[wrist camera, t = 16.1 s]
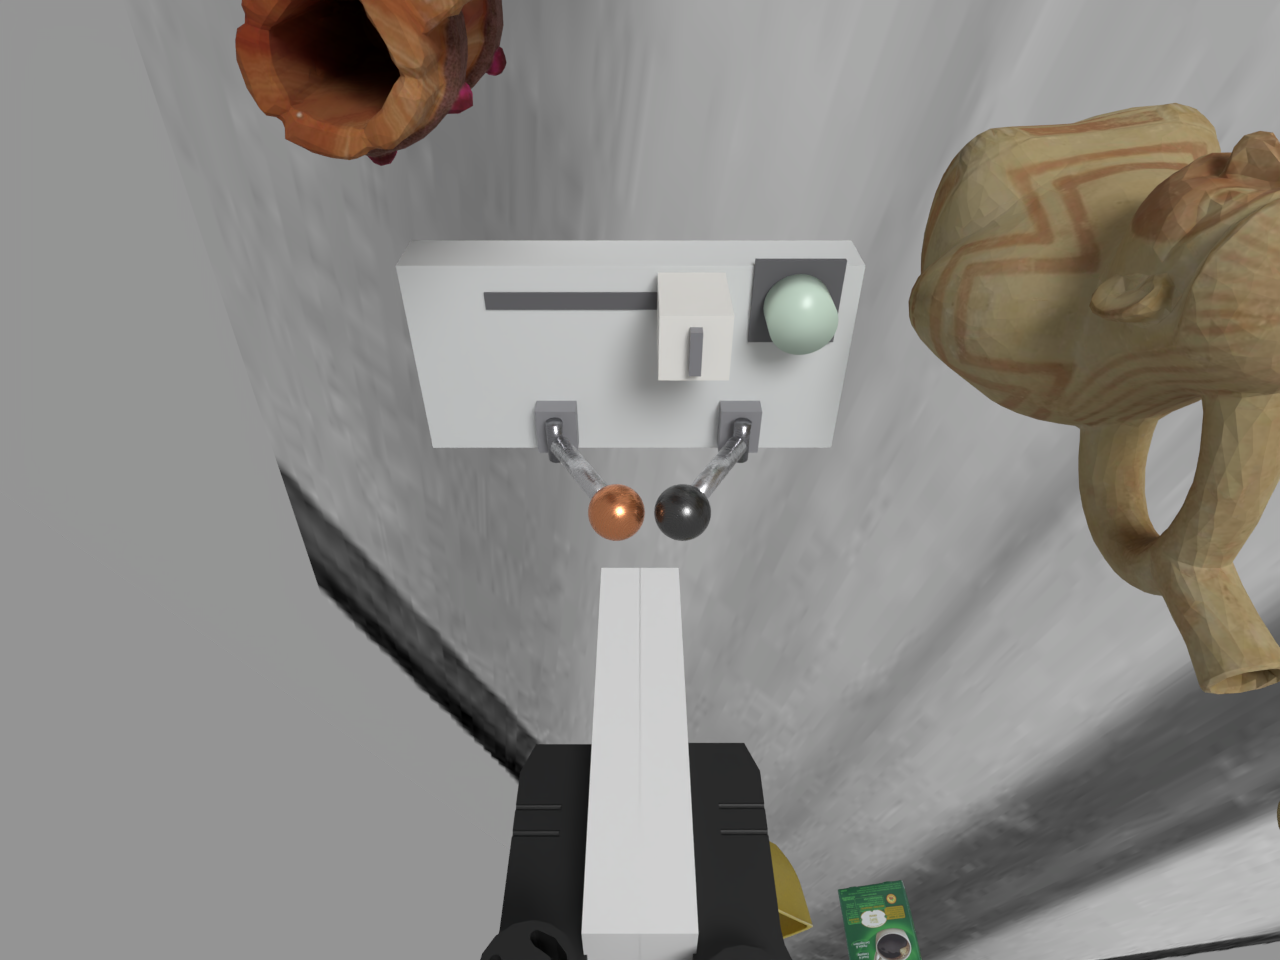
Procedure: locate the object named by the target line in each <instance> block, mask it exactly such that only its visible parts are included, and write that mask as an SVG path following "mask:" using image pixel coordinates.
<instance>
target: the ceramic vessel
mask: <svg viewBox="0 0 1280 960" xmlns="http://www.w3.org/2000/svg"><path fill="white" fill-rule="evenodd" d="M908 303H909V318H910V322H911V325H912V327H913V328H914V330H915V331H916V333H917V335H918V336H919V338H920V339H921V340H922V342H923V343H924V344H925V345H926V346H927V347H928V348H929V349H930V350H931V351H932V352H933V353H934V355H936V356H937V357H938V358H939V359H940V360H941V361H942V362H943V363H945V364H946V365H947V366H948V367H949V368H950V369H952V370H953V371H954V372H956V373H957V374H958V375H959V376H961V377H962V378H963V379H964V380H966V381H967V382H968V383H970V384H971V385H972V386H973V387H975V388H976V389H977V390H979V391H980V392H981V393H982V394H984V395H985V396H986V397H988V398H989V399H990V400H992V401H993V402H995V403H997V404H999V405H1000V406H1002V407H1005V408H1007V409H1009V410H1011V411H1014V412H1016V413H1018V414H1022V415H1025V416H1028V417H1031V418H1034V419H1037V420H1042V421H1047V422H1053V423H1058V424H1065V425H1071V426H1076V427H1078V428H1079V429H1080V442H1079V455H1078V474H1079V490H1080V496H1081V502H1082V507H1083V511H1084V514H1085V518H1086V521H1087V525H1088V528H1089V531H1090V533H1091V536H1092V538H1093V541H1094V543H1095V544H1096V546H1097V547H1098V549H1099V551H1100V552H1101V554H1102V556H1103V557H1104V559H1105V560H1106V561H1107V563H1108V564H1109V565H1110V567H1111V568H1112V569H1113V571H1114V572H1115V573H1116V574H1117V575H1118V576H1119V577H1121V578H1122V579H1123V580H1124V581H1126V582H1127V583H1129V584H1130V585H1132V586H1133V587H1135V588H1137V589H1139V590H1141V591H1143V592H1146V593H1149V594H1153V595H1159V596H1162V597H1163V598H1164V601H1165V603H1166V605H1167V607H1168V609H1169V611H1170V614H1171V616H1172V618H1173V620H1174V622H1175V624H1176V626H1177V628H1178V629H1179V631H1180V633H1181V635H1182V637H1183V640H1184V642H1185V644H1186V646H1187V649H1188V652H1189V655H1190V658H1191V661H1192V664H1193V667H1194V670H1195V673H1196V676H1197V680H1198V683H1199V686H1200V688H1201V689H1202V691H1204V692H1206V693H1213V694H1230V693H1241V692H1246V691H1251V690H1256V689H1261V688H1264V687H1266V686H1269V685H1272V684H1275V683H1278V682H1279V681H1280V647H1279V645H1278V644H1277V643H1276V641H1275V640H1274V638H1273V636H1272V635H1271V633H1270V632H1269V630H1268V628H1267V627H1266V625H1265V624H1264V622H1263V621H1262V619H1261V617H1260V616H1259V614H1258V612H1257V611H1256V609H1255V607H1254V605H1253V603H1252V601H1251V599H1250V598H1249V596H1248V594H1247V592H1246V590H1245V588H1244V586H1243V585H1242V582H1241V580H1240V577H1239V575H1238V573H1237V570H1236V568H1235V566H1234V563H1233V561H1234V559H1235V558H1236V556H1237V555H1238V553H1239V552H1240V550H1241V548H1242V547H1243V545H1244V544H1245V542H1246V541H1247V539H1248V538H1249V536H1250V535H1251V533H1252V532H1253V530H1254V529H1255V527H1256V526H1257V524H1258V522H1259V520H1260V518H1261V516H1262V514H1263V512H1264V510H1265V508H1266V506H1267V504H1268V501H1269V499H1270V497H1271V495H1272V493H1273V491H1274V490H1275V488H1276V486H1277V484H1278V482H1279V480H1280V142H1279V141H1278V139H1277V138H1276V136H1275V134H1274V133H1273V132H1266V131H1258V132H1254V133H1250V134H1247V135H1244V136H1243V137H1242V138H1241V139H1240V141H1239V142H1238V143H1237V144H1236V145H1235V146H1234V148H1233V151H1232V152H1225V153H1221V149H1220V145H1219V142H1218V139H1217V135H1216V130H1215V127H1214V126H1213V125H1212V124H1211V123H1210V121H1209V120H1208V119H1207V118H1206V117H1205V116H1204V115H1203V114H1201V113H1200V112H1199V111H1198V110H1197V109H1195V108H1192V107H1190V106H1186V105H1182V104H1178V103H1170V104H1164V105H1154V106H1143V107H1132V108H1128V109H1123V110H1119V111H1114V112H1110V113H1105V114H1101V115H1097V116H1093V117H1090V118H1087V119H1084V120H1081V121H1078V122H1075V123H1071V124H1056V125H1035V126H1012V127H1000V128H991V129H988V130H986V131H984V132H982V133H980V134H978V135H977V136H976V137H974V138H973V139H972V140H971V141H969V142H968V143H967V144H966V145H965V146H964V147H963V148H962V149H961V150H960V151H959V152H958V154H957V155H956V156H955V157H954V158H953V160H952V161H951V163H950V165H949V166H948V168H947V169H946V171H945V173H944V174H943V176H942V178H941V181H940V183H939V185H938V188H937V190H936V193H935V196H934V199H933V202H932V206H931V209H930V213H929V217H928V220H927V224H926V228H925V232H924V239H923V246H922V252H921V275H920V276H919V277H918V278H917V280H916V282H915V284H914V286H913V288H912V290H911V294H910V298H909V301H908ZM1200 400H1202V407H1203V420H1202V431H1201V442H1200V451H1199V457H1198V462H1197V467H1196V471H1195V475H1194V479H1193V483H1192V485H1191V487H1190V489H1189V491H1188V494H1187V496H1186V499H1185V501H1184V503H1183V505H1182V507H1181V509H1180V511H1179V512H1178V514H1177V515H1176V517H1175V518H1174V520H1173V521H1172V523H1171V524H1170V526H1169V527H1168V528H1167V529H1166V530H1165V531H1164V532H1163V533H1162V534H1161V535H1159V534H1158V533H1157V532H1156V530H1155V529H1154V527H1153V525H1152V523H1151V521H1150V518H1149V515H1148V509H1147V503H1146V497H1145V468H1146V462H1147V456H1148V452H1149V448H1150V444H1151V440H1152V436H1153V433H1154V430H1155V428H1156V425H1157V423H1158V420H1160V419H1161V418H1163V417H1165V416H1166V415H1168V414H1170V413H1171V412H1173V411H1176V410H1178V409H1181V408H1183V407H1185V406H1188V405H1190V404H1193V403H1195V402H1198V401H1200Z"/></svg>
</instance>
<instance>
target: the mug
mask: <svg viewBox="0 0 1280 960" xmlns="http://www.w3.org/2000/svg"><path fill="white" fill-rule="evenodd" d="M241 6H242V8H243V11H244V13H245V23H244V24H243V25H241V26H240V27H238V28H237V32H236V38H235V48H236V60H237V63H238V66H239V69H240V71H241V74H242V77H243V79H244V82H245V85H246V88H247V89H248V91H249V93H250V94H251V96H252V97H253V99H254V101H255V102H256V104H257V105H258V107H259V109H260V110H261V111H262V112H263V113H264V114H265V115H266V116H272V117H277V118H278V119H279V120H281V121H282V122H283V125H284V127H285V139H286V140H288V141H290V142H292V143H294V144H296V145H298V146H300V147H303V148H305V149H306V150H308V151H310V152H312V153H315V154H319V155H322V156H326V157H330V158H336V159H344V160H352V159H357V158H360V157H362V156H364V155H366V156H368V157H369V158H370V159H371V161H372V162H373V163H375V164H377V165H380V166H383V165H387V164H391V163H392V161H393V160H394V158H395V156H396V154H397V150H401V149H405V148H407V147H409V146H411V145H412V144H414V143H416V142H418V141H420V140H422V139H423V138H425V137H426V136H427V135H428V134H429V133H430V132H431V131H432V130H434V129H435V128H436V127H437V125H438V124H439V123H440V122H441V121H442V120H443V118H444V117H445V116H446V115H447V114H459V113H461V112H463V111H465V110H467V109H468V108H470V107H472V106H473V93H472V91H471V89H472V88H473V87H474V86H475V85H476V84H477V82H478V81H479V80H480V79H481V78H482V76H483V75H484V74H485V73H487V74H488V75H493V76H497V75H499V74H501V73H502V72H503V70H504V69H505V66H506V63H507V62H506V57H505V54H504V51H503V48H501V47H500V41H501V36H502V31H503V26H504V24H503V9H502V0H242V3H241Z"/></svg>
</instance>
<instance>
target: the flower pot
mask: <svg viewBox="0 0 1280 960" xmlns="http://www.w3.org/2000/svg"><path fill="white" fill-rule="evenodd" d="M769 842H770V841H769ZM770 850H771V857H772V865H773V873H774V880H775V888H776V896H777V903H778V911H779V918H780V926H781V931H782V935H783V939H784V938H787V937H790V936H793V935H795V934H798V933H800V932H803V931H806V930H808V929H810V928H812V927H813V924H812V921H811V918H810V914H809V911H808V907H807V904H806V900H805V897H804V894H803V890H802V887H801V884H800V881H799V879H798V876H797V874H796V872H795V870H794V868H793V866H792V865H791V863H790V862H789V860H788V859H787V857H786V856H785V855H784V853H783V852H782V851H781V850H780V849H779V847H778V846H777V845H776V844H774V843H772V842H770Z"/></svg>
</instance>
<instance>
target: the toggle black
mask: <svg viewBox="0 0 1280 960" xmlns="http://www.w3.org/2000/svg"><path fill="white" fill-rule="evenodd" d="M751 425H752V422H751V420H750V419H748V418H743V417H741V418H737V419H736V420H735V422H734V432H733V437H731V438H730V439H729V440H728V441H727V442H726V444H725V445H724V446H723V447H722V448H721V449H720V451H719V452H718V453H717V454H716V455H715V457H714V458H713V459H712V460H711V461H710V463H709V464H708V465H707V466H706V467H705V469H704V470H703V471H702V472H701V473H700V475H699V476H698V477H697V478H696V479H695V481H694V482H693V483H692V484H691V485H687V484H678V485H674V486H671V487H669V488H667V489H666V490H665V491H664V492H662V493H661V495H660V496H659V497H658V499H657V501H656V504H655V508H654V517H655V521H656V524H657V526H658V528H659V529H660V530H661V531H662V533H663V534H665V535H666V536H667V537H669V538H671V539H674V540H678V541H688V540H692V539H694V538H696V537H698V536H699V535H701V534H702V533H703V532H704V531H705V530H706V528H707V526H708V525H709V522H710V518H711V507H710V503H709V501H708V498H709V497H710V496H711V494H712V493H713V492H714V491H715V489H716V488H717V487H718V486H719V484H720V483H721V482H722V480H723V479H724V478H725V477H726V475H727V474H728V473H729V472H730V470H731V469H732V468H733V467H734V465H735V464H736V463H744V462H746V461H747V460H748V453H749V444H750V435H751Z"/></svg>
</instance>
